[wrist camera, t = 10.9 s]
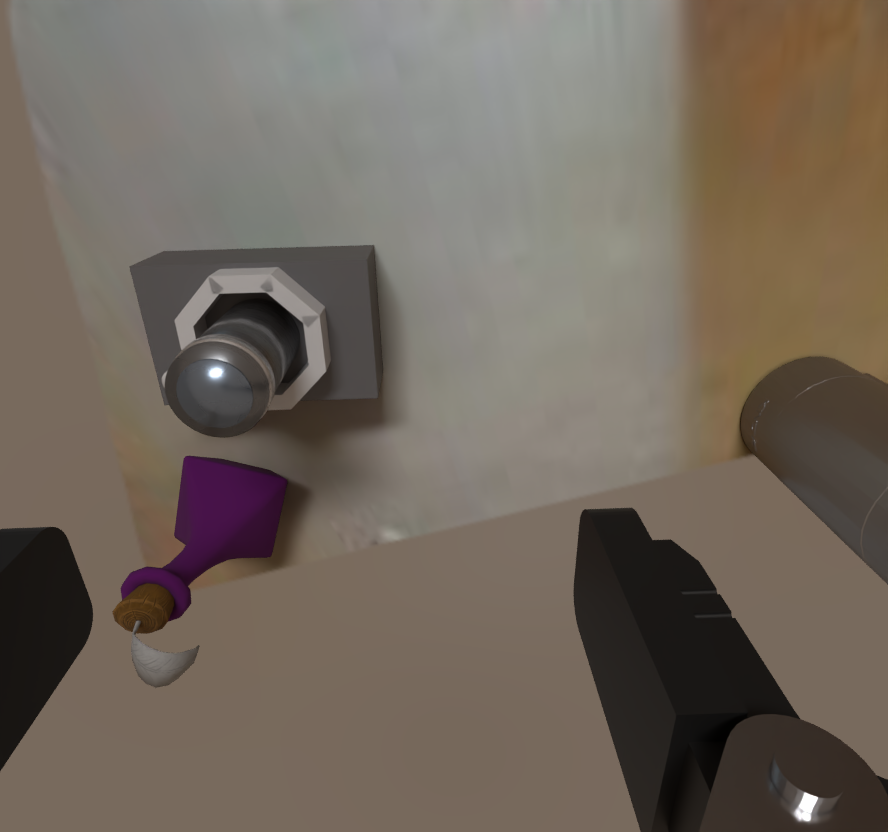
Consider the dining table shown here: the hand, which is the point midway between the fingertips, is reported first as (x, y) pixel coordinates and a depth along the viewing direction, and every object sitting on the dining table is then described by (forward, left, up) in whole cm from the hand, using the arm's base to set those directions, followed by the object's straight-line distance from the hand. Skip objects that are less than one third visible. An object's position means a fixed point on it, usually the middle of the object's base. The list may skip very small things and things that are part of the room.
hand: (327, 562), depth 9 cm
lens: (+9, +5, -28) cm, 30 cm away
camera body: (+9, +5, -33) cm, 35 cm away
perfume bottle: (+14, +19, -33) cm, 41 cm away
